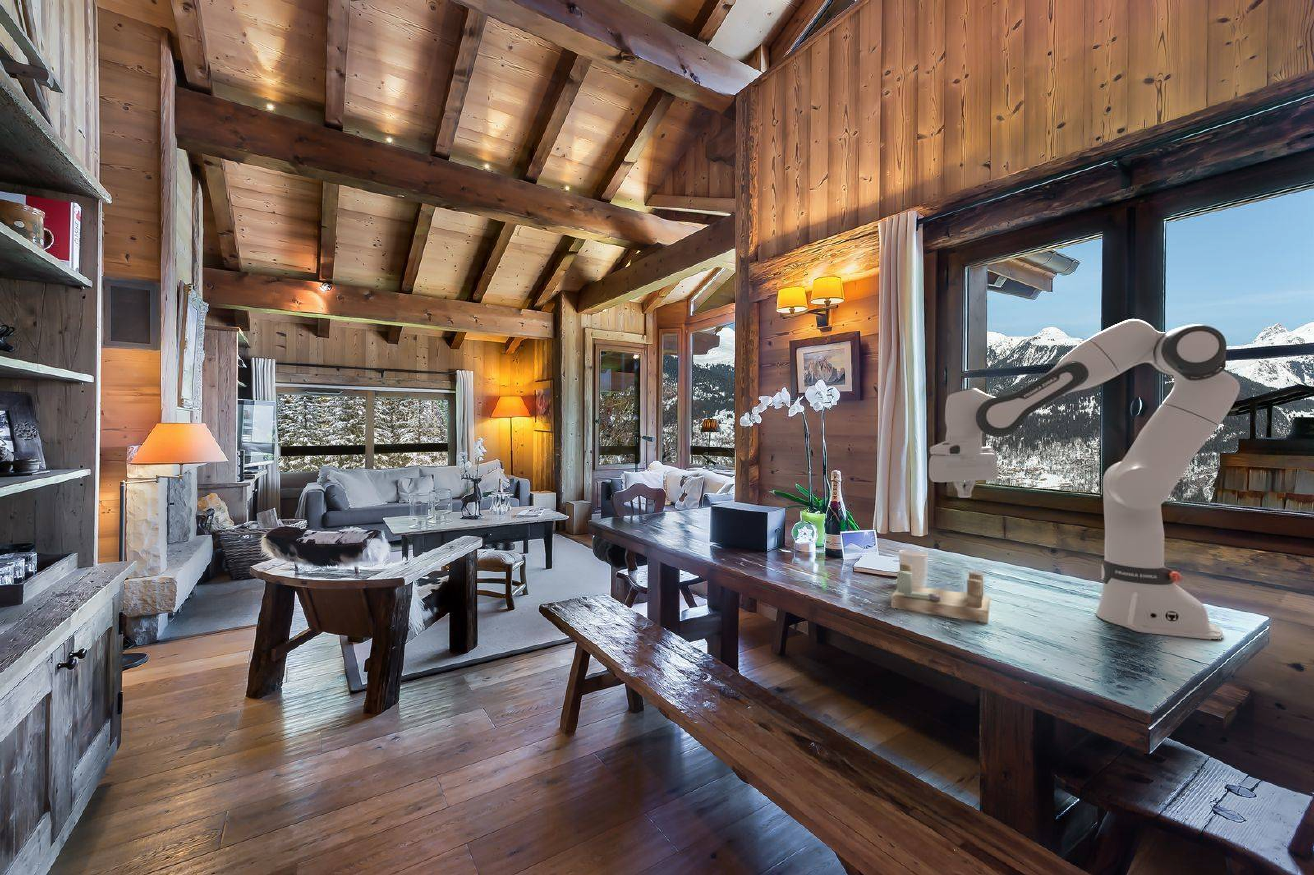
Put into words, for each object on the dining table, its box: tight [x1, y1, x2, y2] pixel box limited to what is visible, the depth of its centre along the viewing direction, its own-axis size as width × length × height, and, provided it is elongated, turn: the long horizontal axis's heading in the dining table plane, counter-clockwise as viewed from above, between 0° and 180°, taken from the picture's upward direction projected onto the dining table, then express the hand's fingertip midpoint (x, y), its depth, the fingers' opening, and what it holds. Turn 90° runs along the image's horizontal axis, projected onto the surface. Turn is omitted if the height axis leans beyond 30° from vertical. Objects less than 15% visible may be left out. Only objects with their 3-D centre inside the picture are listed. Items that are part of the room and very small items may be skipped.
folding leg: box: [896, 570, 940, 601], centre depth 145 cm, size 10×4×6 cm, turn 59°
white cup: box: [898, 549, 929, 588], centre depth 167 cm, size 8×8×10 cm
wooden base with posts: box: [890, 563, 991, 624], centre depth 146 cm, size 22×14×9 cm, turn 58°
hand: (964, 497), depth 154 cm, fingers closed
